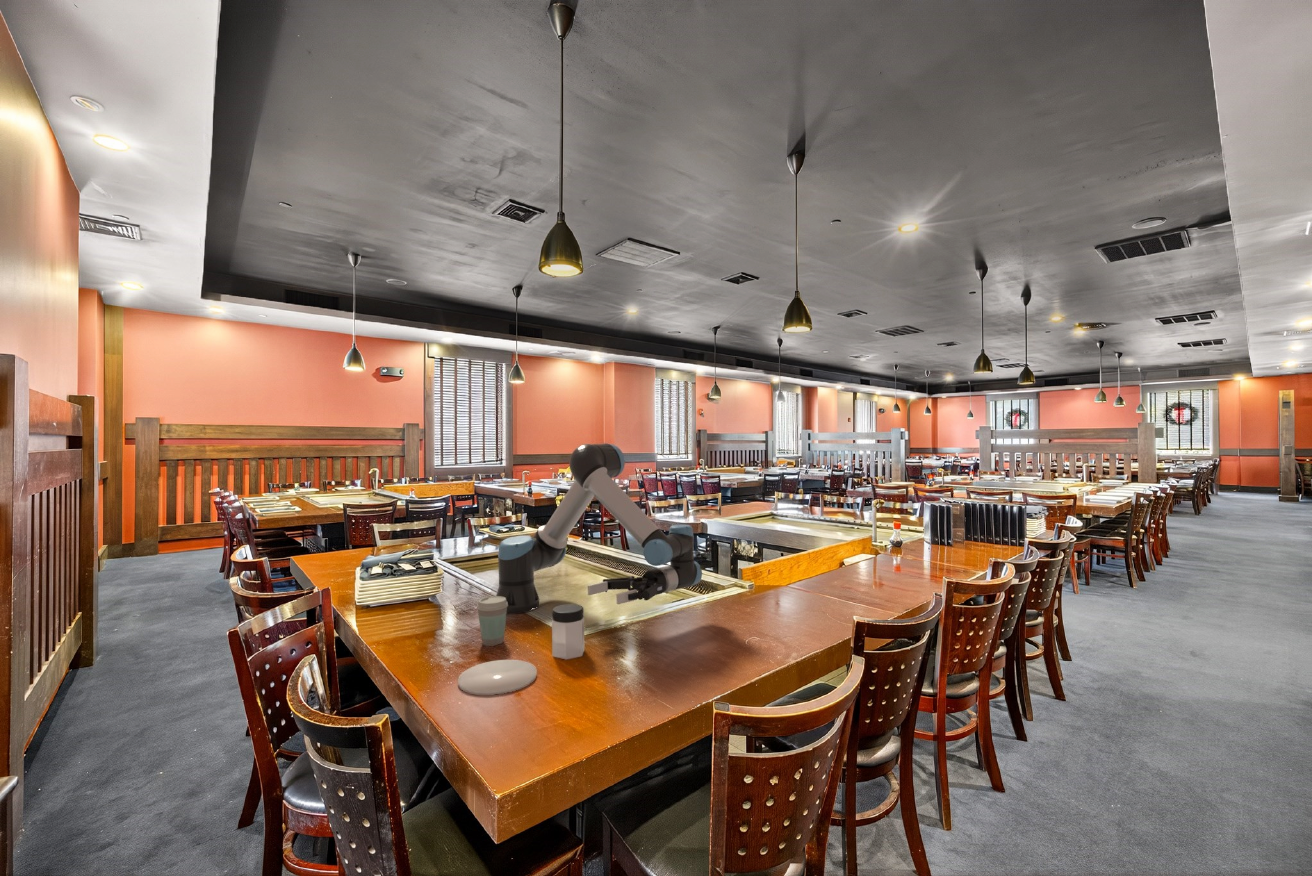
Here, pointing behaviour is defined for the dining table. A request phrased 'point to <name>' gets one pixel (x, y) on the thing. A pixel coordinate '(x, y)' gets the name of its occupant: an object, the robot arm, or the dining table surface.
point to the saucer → (497, 677)
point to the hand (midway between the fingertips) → (602, 594)
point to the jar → (567, 631)
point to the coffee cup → (492, 619)
